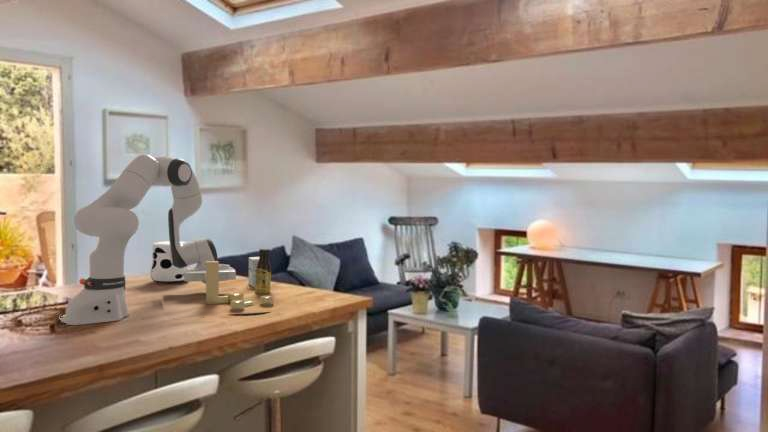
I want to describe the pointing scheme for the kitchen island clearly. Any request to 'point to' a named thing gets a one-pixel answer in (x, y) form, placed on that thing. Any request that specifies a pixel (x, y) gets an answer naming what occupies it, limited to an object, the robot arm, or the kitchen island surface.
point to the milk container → (165, 265)
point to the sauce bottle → (263, 273)
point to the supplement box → (252, 270)
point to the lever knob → (217, 286)
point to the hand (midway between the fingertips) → (211, 278)
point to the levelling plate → (239, 305)
